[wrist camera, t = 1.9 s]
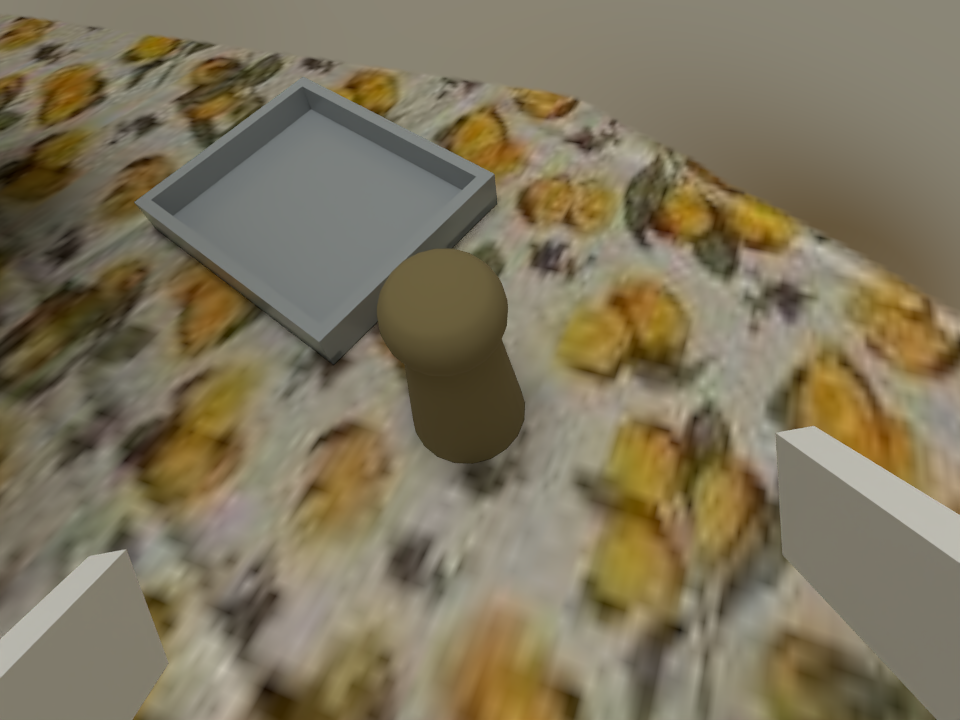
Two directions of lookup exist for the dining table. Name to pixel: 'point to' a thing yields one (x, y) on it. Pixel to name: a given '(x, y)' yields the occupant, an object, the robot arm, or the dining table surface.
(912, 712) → the dining table surface
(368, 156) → the tray
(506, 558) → the dining table surface
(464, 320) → the cork
